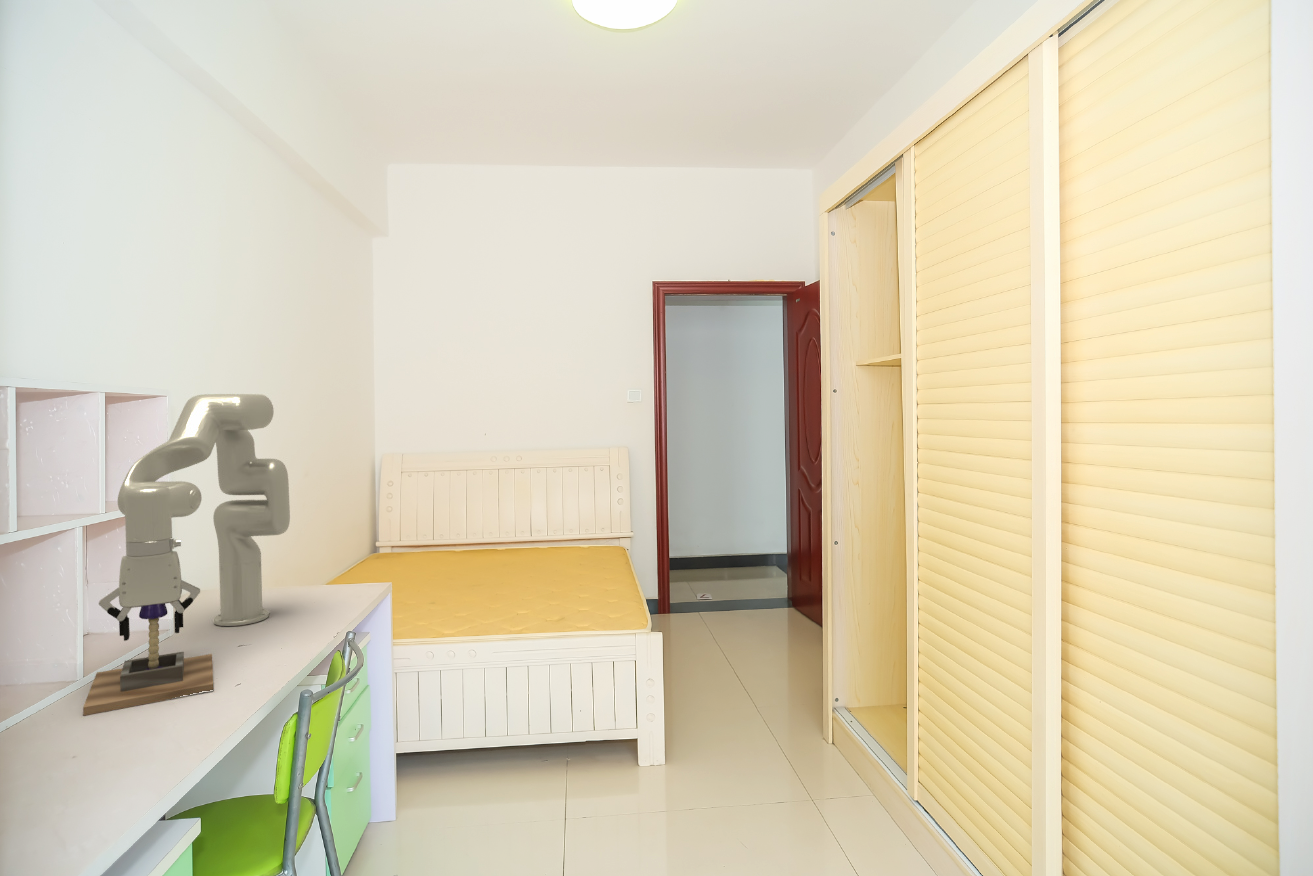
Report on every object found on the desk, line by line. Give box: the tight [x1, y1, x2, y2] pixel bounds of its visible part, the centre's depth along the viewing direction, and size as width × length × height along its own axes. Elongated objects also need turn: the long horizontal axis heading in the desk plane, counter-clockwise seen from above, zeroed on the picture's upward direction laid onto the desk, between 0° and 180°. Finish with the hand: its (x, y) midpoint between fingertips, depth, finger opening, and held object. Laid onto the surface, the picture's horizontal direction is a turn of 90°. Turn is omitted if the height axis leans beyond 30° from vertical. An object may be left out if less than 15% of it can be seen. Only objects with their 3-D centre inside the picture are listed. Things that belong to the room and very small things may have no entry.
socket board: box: [82, 651, 214, 717], centre depth 141 cm, size 20×20×4 cm
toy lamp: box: [138, 604, 168, 671], centre depth 141 cm, size 5×5×17 cm
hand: (152, 634), depth 141 cm, fingers open, 7 cm apart
